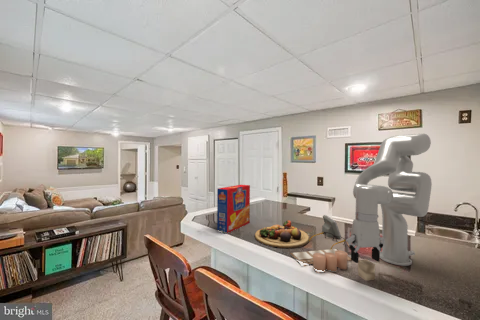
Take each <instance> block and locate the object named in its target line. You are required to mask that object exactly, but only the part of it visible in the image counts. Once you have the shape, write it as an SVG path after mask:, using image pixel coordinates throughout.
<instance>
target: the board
mask: <svg viewBox="0 0 480 320" xmlns="http://www.w3.org/2000/svg"><path fill="white" fill-rule="evenodd" d="M337 250H338V249H337V248H332V249H331V248H330V249H319V250H309V251H308V250H307V251H298V252H297V251H296V252H289V255H290V254H291V255H292V256H293V257H294V258H296V259H298V260H300V261H302V262H303V263H308V264H313V254H314V253H321V254H324V253H327V252H330V253H334V254H335V251H337ZM291 255H290V256H291ZM292 256H291V257H292ZM293 257H292V258H293ZM294 258H293V259H294ZM350 261H351V262H353V261H352V260H351V256H348V262H350Z"/></svg>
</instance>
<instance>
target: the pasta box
mask: <svg viewBox="0 0 480 320" xmlns="http://www.w3.org/2000/svg"><path fill="white" fill-rule="evenodd" d="M216 189H217V193H216V194H217V195H216V196H217V200H216V201H217V202H216V203H217V206H216V209H217V212H216V213H217V214H216V218H217V219H216V220H217V222H216V223H217V224H216V227H217V228H216V229H217V230H219V231H223V232H227V233H228V232H230V233H232V232H234V231H236V230H239V229H240V227H241V228H243V227H245V226H247V225H249V224H251V222H250V221H251V220H250V219H251V218H250V217H251V211H250V210H251V209H250V208H251V206H250V203H251V194H250V193H251V185H249V184H236V185H231V186H223V187H219V188H216ZM242 226H243V227H242ZM235 229H236V230H235ZM233 230H234V231H233ZM231 231H232V232H231ZM228 234H229V233H228Z"/></svg>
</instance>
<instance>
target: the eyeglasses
mask: <svg viewBox="0 0 480 320" xmlns="http://www.w3.org/2000/svg"><path fill="white" fill-rule="evenodd" d="M326 233H328V232H322V231H321V232H320V233H319V232H318V233H316V234H314V235H312V236H311V237H309V242H311V239H312V238H314V237H315V236H319V235H323V234H324V235H325V234H326ZM329 234H331V233H329ZM332 235H333V234H332ZM333 236H334V237H332V241H334V240H335V242H336V243H334V244H333V245H332V246H331V247H330V249H333V247H334V246H335V245H337V244H340V243H343V244H342V245H343V246H345V244H346V239H347V238H345V237H342V236H341V238H340V239H342V240H340V241H338V238H337V237H339V236H335V235H333ZM324 238H325V239H327V236H324Z"/></svg>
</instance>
